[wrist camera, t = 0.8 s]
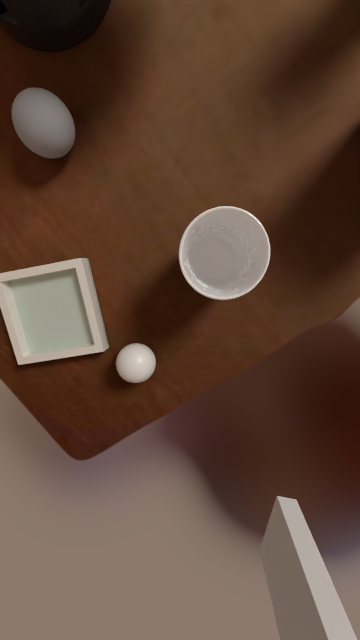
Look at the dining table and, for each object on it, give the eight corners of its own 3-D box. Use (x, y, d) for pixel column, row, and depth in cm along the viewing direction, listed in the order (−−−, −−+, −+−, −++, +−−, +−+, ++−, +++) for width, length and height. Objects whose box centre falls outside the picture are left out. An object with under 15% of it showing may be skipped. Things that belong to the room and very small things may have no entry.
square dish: (2, 275, 34) (-10, 275, 32) (88, 258, 33) (81, 257, 31) (27, 359, 36) (18, 365, 34) (109, 346, 35) (103, 351, 33)
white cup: (199, 300, 33) (200, 313, 23) (173, 243, 32) (163, 231, 22) (256, 275, 32) (283, 277, 22) (232, 215, 31) (249, 188, 21)
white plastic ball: (118, 341, 34) (106, 353, 30) (154, 336, 34) (147, 347, 29) (126, 375, 35) (115, 392, 30) (161, 370, 35) (156, 386, 30)
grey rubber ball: (29, 117, 30) (-12, 79, 24) (77, 105, 29) (47, 63, 23) (43, 172, 31) (7, 148, 25) (89, 161, 30) (64, 135, 24)
